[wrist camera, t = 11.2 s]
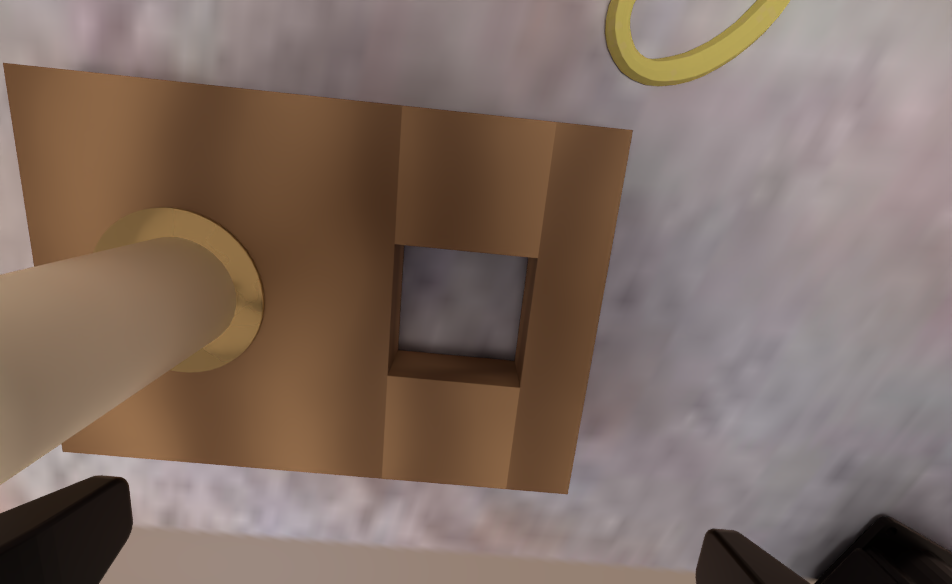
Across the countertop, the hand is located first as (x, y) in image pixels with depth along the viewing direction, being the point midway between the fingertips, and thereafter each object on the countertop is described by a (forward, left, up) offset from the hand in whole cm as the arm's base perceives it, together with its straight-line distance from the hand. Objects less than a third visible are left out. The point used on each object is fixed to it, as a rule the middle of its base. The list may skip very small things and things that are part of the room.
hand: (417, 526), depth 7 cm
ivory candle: (+9, +4, -10) cm, 14 cm away
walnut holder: (+4, +2, -13) cm, 13 cm away
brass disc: (+9, +4, -10) cm, 14 cm away
